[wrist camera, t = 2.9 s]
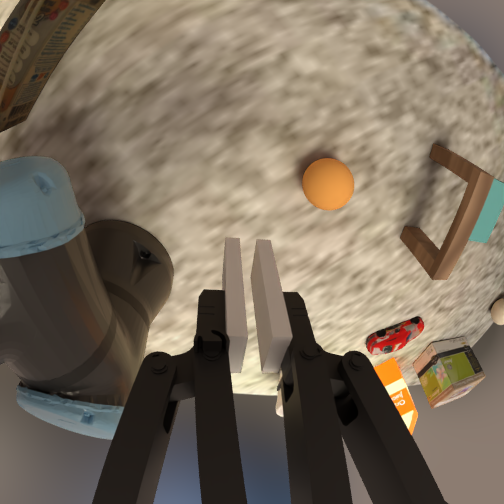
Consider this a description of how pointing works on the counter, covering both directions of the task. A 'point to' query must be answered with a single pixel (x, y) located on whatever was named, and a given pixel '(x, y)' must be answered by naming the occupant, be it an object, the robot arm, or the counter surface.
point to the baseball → (498, 312)
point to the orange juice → (398, 391)
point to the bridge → (463, 223)
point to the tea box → (448, 371)
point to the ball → (328, 184)
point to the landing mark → (489, 213)
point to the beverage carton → (35, 50)
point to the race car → (394, 336)
